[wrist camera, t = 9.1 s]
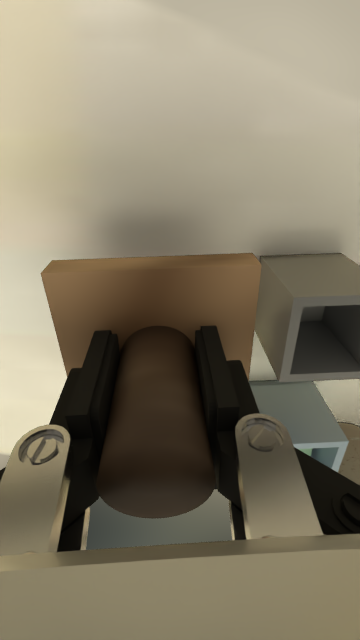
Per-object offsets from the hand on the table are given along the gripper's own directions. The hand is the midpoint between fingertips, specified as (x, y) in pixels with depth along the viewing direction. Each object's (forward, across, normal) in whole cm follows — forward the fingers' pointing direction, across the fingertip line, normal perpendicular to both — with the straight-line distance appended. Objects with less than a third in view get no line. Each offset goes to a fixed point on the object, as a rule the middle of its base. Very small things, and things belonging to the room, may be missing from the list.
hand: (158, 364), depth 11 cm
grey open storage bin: (+13, -10, +4) cm, 17 cm away
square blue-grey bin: (+13, -10, +16) cm, 23 cm away
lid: (+2, 0, 0) cm, 2 cm away
